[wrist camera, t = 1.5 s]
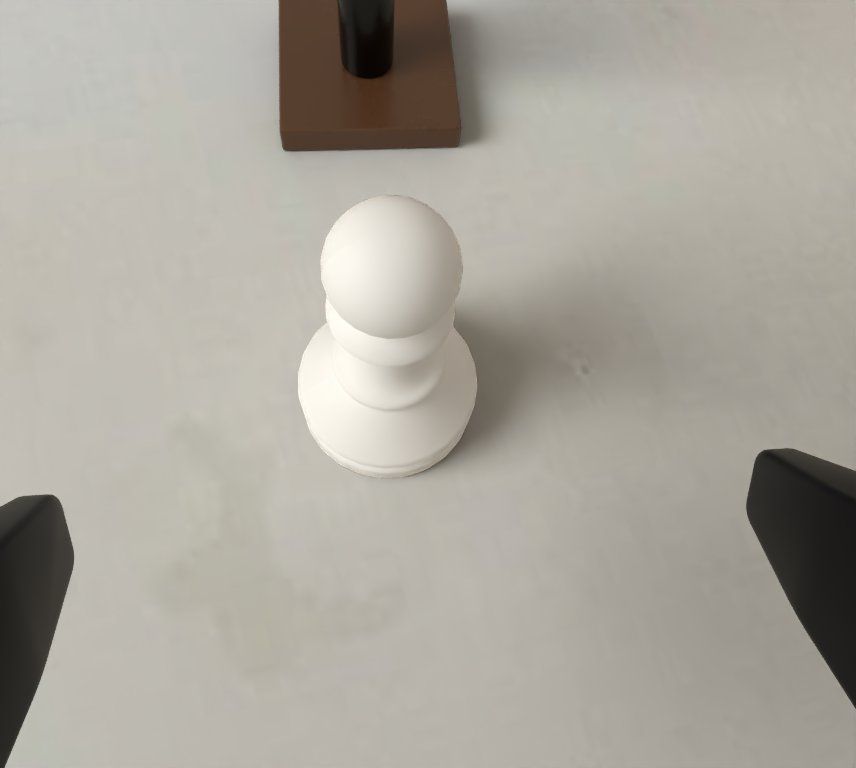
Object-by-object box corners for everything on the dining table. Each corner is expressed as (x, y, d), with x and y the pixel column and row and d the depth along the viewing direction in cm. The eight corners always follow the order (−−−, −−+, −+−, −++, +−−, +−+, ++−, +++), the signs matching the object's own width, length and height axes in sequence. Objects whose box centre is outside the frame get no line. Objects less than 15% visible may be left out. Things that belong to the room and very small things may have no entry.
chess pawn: (449, 309, 23) (491, 103, 14) (489, 461, 21) (563, 329, 13) (290, 337, 22) (235, 138, 14) (318, 496, 20) (275, 382, 12)
